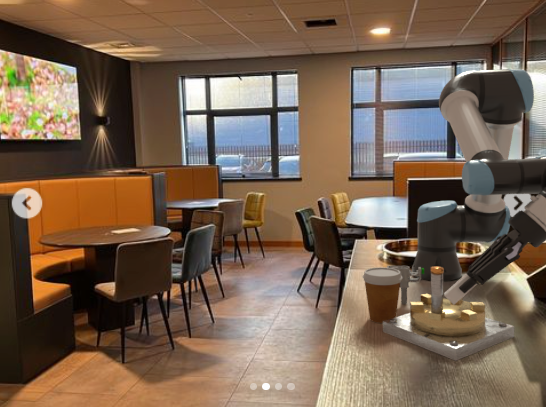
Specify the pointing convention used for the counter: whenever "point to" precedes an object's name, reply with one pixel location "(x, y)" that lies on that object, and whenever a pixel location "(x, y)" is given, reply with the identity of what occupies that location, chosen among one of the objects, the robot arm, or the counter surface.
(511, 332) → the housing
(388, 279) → the disposable coffee cup
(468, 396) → the counter surface
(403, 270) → the mechanical component
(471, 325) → the brass turntable plate
